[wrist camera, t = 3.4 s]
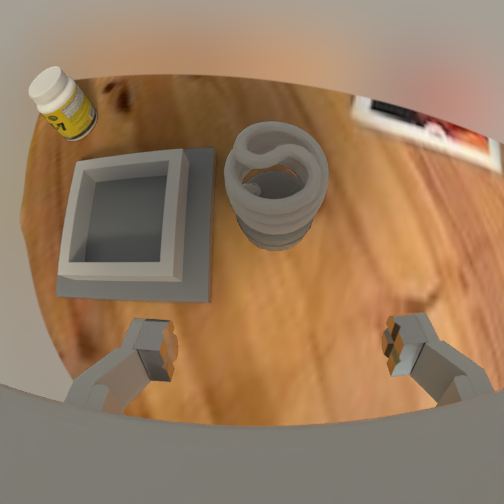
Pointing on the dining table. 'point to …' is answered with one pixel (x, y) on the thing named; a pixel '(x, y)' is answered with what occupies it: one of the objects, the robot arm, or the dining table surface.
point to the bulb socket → (140, 228)
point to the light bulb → (276, 183)
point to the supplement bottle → (63, 104)
